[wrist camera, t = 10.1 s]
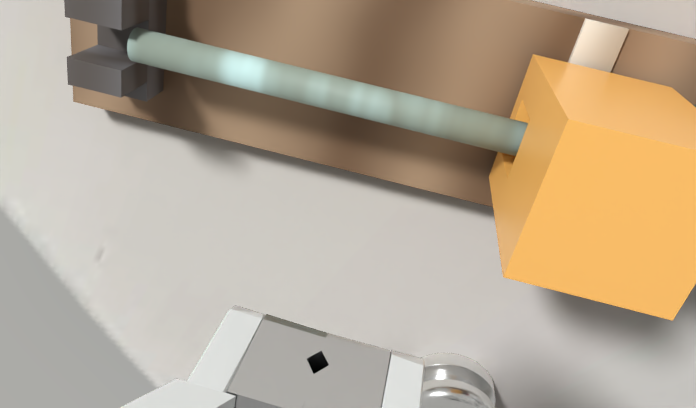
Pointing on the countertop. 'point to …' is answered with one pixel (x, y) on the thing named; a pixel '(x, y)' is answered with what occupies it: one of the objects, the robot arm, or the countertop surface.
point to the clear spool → (456, 383)
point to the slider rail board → (353, 75)
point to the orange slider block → (600, 189)
